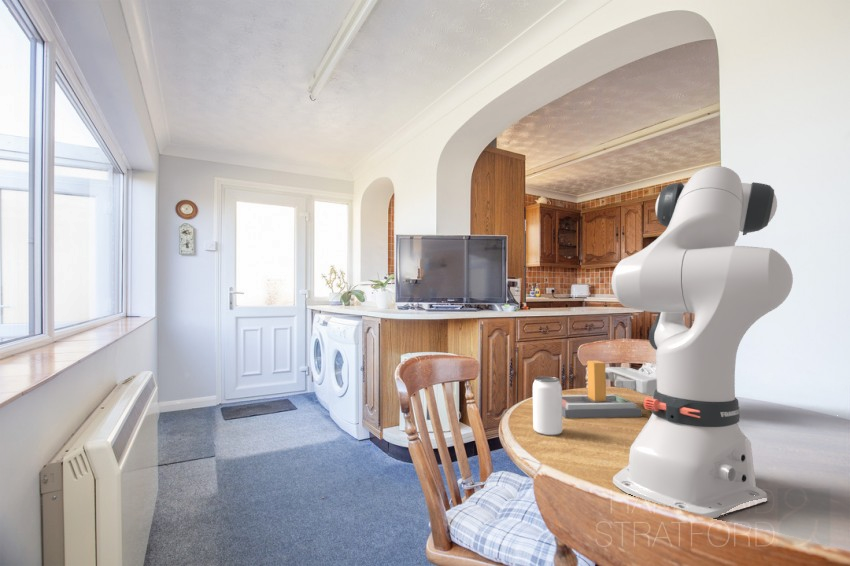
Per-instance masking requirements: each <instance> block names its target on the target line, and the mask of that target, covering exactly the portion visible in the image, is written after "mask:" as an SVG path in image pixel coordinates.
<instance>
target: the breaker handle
mask: <svg viewBox="0 0 850 566" xmlns="http://www.w3.org/2000/svg"><path fill="white" fill-rule="evenodd" d="M605 368H606V363H605V362H603V361H600V360H587V395H588V396H583V400H584V401H586V402H587V403H612V402H611V401H609V400H607V399H606V395H607V391H606V388H607V384H606V381H607V379H606V376H605Z"/></svg>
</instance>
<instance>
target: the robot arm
mask: <svg viewBox="0 0 850 566" xmlns="http://www.w3.org/2000/svg"><path fill="white" fill-rule="evenodd" d="M654 207H655V209H654V211H655V215H656V218H657V219H656V220H657V221H658V223H659V224H661V226H663V227H666V229H665V230H664V231H663V232H662V233H661V234H660V235H659V236H658V237H657V238H656V239H655V240H654V241H652V242H651V243H650V244H648V245H647V246H646V247H644V248H643V249H641V250H639V251H638V252H636V253H634V254H631V255H630V256H627V257H625V258H623V259H621V260H620V261H619V262H618V264H617V265H616V266H615V268H614V269H613V271H612V275H611V283H610V284H611V290H612V293H613V295H614V297H615V298H616V300H617V301H618V302H619V304H621V305H622V306H623V307H625V308H628V309H629V308H630V309H634V310H638V311H642V312H643V311H644V312H648V313H657V315H656V318H655V320H654V322H653V324H652V326H651V327H650V330H649V332H648V333H649V334H648V341H649V344H650V346H651V347H652V348H653V349H654V350H655V362H646V363H643V365H642V366H641V367H639V369H635V368H631V367H627V366H624V367H623V366H622V367H621V366H606V367H605V376H606V381H607V380H608V381H610V382H612V386H613V387H615V388H617V389H619V388H621V389H622V388H623V389H629V390H632V391H634V392H637V393H639V394H641V395H645V396H646V397H645V398H644V400H643V407H644V409H646V410H648V411H649V410H650V411H651V415H650V417H649V419H648V420H647V421H646V423H645V424H644V426H643V427H642V429H641V430H640V432H639V433H638V435H637V436H636V438H635V440H633V442H632V444H631V445H630V448H629V455H628V464H627V465H626V466H624V467H623V468H622V469H621V470H620V471H618V472H617V473H616V474H615V475H613V477H612V483H613V485H614V486H615V487H617V488H618V489H620V491H623V492H624V493H626V494H628V495H629V494H631V495H633V496H636V497H640V498H642V499H645V500H648V501H652V502H655V503H658V504H663V505H667V506H671V507H674V508H677V509H682V510H685V511H688V512H692V513H695V514H699V515H703V516H707V517H712V518H713V519H715V518H719V516H720V515H721V514H722V513H726V512H727V511H729V510H730V509H732V508H734V507H736V506H738V505H740V504H743V503H746V502H749V501H753V500H758V499H762V498H768V493H766V491H764V490H763V489H761V488H759V487H758V486H756V477H755V468H754V458H753V457H754V456H753V450H752V443H751V440H750V439H749V438H748V437H747V436H746V435H745V433H744V432H743V431H742V430H741V428H740V426H739V424H738V423H739V422H740V413H741V409H740V404H739V399H738V398H737V397H736V390H735V389H736V386H735V385H736V383H735V381H736V379H735V378H736V361H737V355H738V354H737V352H738V350H739V346H740V343H741V341H742V340H743V338H744V336H745V334H747V332H748V330H749V329H750V328H751V327H752V326H753V325H754V324H755V323H756V322H757V321H758V320H760V319H761V318H763V317H764V316H765V315H766V314H768V313H771V312H772V311H773V310H775V309H777V308H778V307H780V306H781V305H782V304H783V303H784V302H785V301H786V299H787V298H788V296H789V295H790V294H791V293H790V292H791V290H792V287H793V283H794V281H793V279H794V278H793V273H792V268H791V266H790V264H789V263H788V261H787V260H786V259H785V258H784V257H783V256H782V254H780V253H779V252H778V251H777V250H775V249H773V248H769V247H759V246H745V245H736V242H737V241H738V238H739V235H740V232H741V233H742V236H746V235H747V234H748V233H754V232H759V231H761V230H762V229H764V228H766V227H767V226H768V225H769V223H770V222H771V221H772V220H773V218H774V216H775V214H776V212H777V208H778V199H777V196H776V194H775V189H774V188H773V187H772V186H771V185H769V184H766V183H760V182H754V181H753V182H751V183H749V182H747V183H746V182H742V181H741V178H740V176H739V175H738V174H737V172H735V171H734V170H733V169H731V168H728V167H726V166H720V165H717V166H716V165H715V166H714V165H713V166H708V167H703V168H702V169H700V170H697V172H695V173H694V174H692V175H691V177H690V178H689V179H688V180H687V182H685V183H682V181H680V182H675V183H671V184H668V185H666V186H665V187H663V188H662V189H661V191H660V192H659V194H658V197H657V199H656V201H655V206H654ZM685 313H689V314H694V319H693V320H694V321H693V322H692V323H693V324H692V326H691V327H688V326H686V324H685V322H684V319H683V318H684V314H685ZM648 396H649V397H648ZM651 397H652V398H651ZM631 495H630V496H631ZM754 495H755V496H754ZM633 496H632V497H633ZM720 517H721V516H720Z"/></svg>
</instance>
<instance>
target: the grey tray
mask: <svg viewBox="0 0 850 566" xmlns="http://www.w3.org/2000/svg"><path fill="white" fill-rule="evenodd" d="M583 396H588V394H566V395H565V394H562V418H564V419H584V418H585V419H588V418H591V419H592V418H595V419H596V418H597V419H598V418H599V419H600V418H639V417H640V418H642V417H643V416H642V415H643V414H642V413H643V412H642V408H641V407H638V406H637V403H635V402H634V401H631V400H629V399H627V398H625V397H623V396H621V395H618V394H606V399H607V400H609V401H611V402H612V403H587V402H586V401H584V400H583Z"/></svg>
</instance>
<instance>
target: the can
mask: <svg viewBox="0 0 850 566" xmlns="http://www.w3.org/2000/svg"><path fill="white" fill-rule="evenodd" d="M562 395H563V390H562V385H561V382H560V378H558V377H554V376H553V377H552V376H545V375H544V376H543V375H542V376H536V377H534V381H533V383H532V425H533V426H532V428H533V429H532V430H534V432H535V433H536V434H537V433H538V435H539V434H540V435H544V436H550V437H551V436H558V435H561V433H563V416H562Z"/></svg>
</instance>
